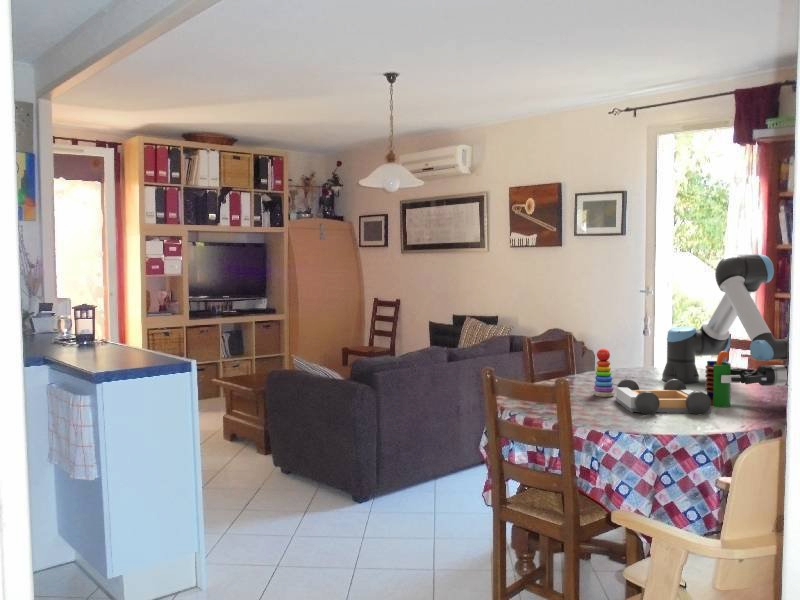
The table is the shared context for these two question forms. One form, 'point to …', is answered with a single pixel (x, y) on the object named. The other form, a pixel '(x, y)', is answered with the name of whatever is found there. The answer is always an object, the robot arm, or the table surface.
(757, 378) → the robot arm
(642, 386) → the table surface
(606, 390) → the stacking toy
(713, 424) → the table surface
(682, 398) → the chassis
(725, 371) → the motor
